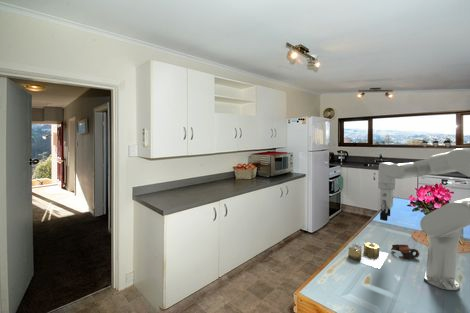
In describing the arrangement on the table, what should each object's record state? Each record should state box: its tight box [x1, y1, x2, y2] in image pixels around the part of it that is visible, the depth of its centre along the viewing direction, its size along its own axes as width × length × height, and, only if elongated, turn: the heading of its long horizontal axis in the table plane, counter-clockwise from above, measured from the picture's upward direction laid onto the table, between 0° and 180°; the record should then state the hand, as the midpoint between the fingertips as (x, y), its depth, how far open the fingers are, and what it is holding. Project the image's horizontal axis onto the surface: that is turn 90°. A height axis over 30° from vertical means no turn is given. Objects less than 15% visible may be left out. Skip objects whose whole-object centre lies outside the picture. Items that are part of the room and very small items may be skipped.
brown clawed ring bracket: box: [390, 243, 420, 260], centre depth 125 cm, size 12×10×8 cm
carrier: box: [344, 242, 389, 270], centre depth 124 cm, size 20×16×6 cm
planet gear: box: [363, 242, 381, 256], centre depth 127 cm, size 7×7×4 cm
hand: (385, 217), depth 126 cm, fingers open, 9 cm apart
